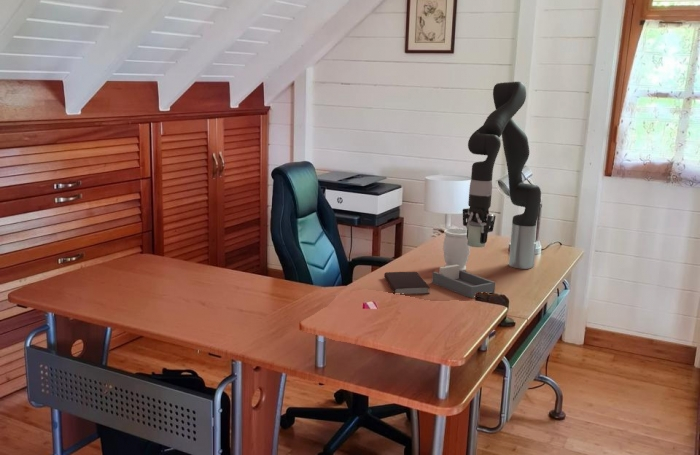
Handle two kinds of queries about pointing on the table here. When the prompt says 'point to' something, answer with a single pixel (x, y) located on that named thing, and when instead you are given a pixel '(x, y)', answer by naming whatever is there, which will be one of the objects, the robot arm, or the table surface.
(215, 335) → the table surface
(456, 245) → the jar
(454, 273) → the block
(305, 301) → the table surface
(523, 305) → the table surface
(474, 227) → the small jar
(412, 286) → the book
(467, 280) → the grey tray
